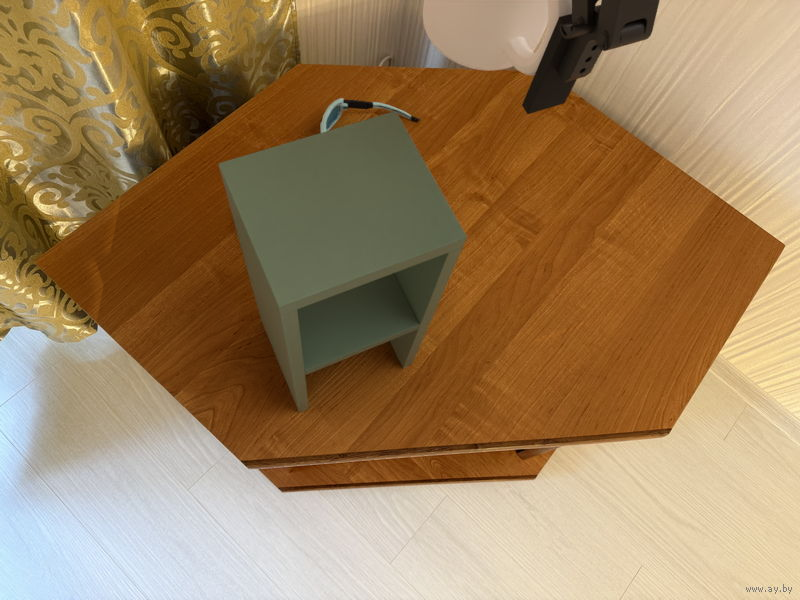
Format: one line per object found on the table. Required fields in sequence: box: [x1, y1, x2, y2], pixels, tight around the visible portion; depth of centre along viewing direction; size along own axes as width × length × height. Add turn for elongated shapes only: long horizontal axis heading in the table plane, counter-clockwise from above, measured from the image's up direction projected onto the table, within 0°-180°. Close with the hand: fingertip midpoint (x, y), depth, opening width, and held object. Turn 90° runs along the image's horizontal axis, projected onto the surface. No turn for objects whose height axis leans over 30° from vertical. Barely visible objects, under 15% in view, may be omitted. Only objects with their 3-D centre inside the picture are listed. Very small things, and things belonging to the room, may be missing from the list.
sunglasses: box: [319, 97, 421, 133], centre depth 79 cm, size 14×15×5 cm
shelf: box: [218, 111, 468, 413], centre depth 56 cm, size 12×14×30 cm
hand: (495, 32), depth 39 cm, fingers closed on mug, 12 cm apart
